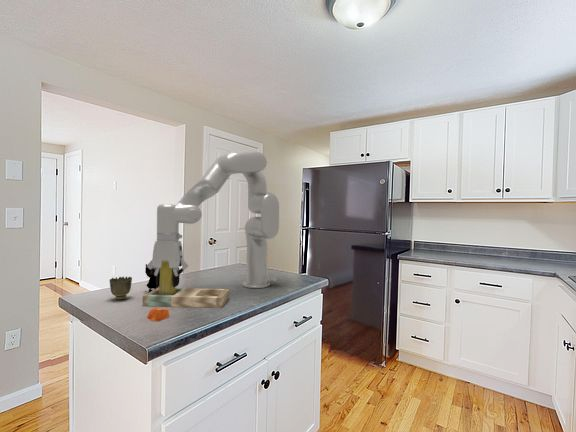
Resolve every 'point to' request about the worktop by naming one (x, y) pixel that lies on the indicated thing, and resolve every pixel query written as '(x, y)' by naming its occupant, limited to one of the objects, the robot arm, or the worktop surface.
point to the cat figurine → (152, 279)
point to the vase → (166, 280)
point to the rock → (158, 314)
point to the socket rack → (188, 298)
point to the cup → (120, 287)
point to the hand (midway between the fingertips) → (167, 285)
